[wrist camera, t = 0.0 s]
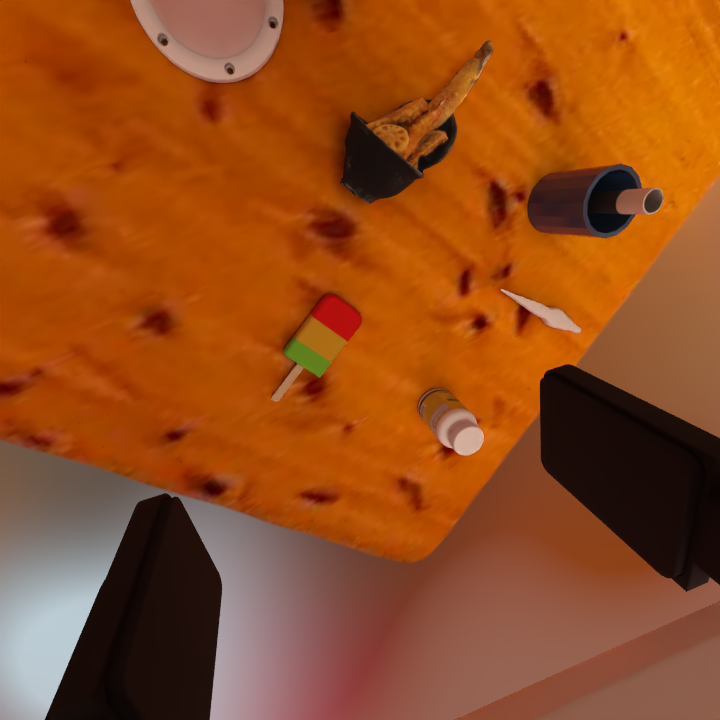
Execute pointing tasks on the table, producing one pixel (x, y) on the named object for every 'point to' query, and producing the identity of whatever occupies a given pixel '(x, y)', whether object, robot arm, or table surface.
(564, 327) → the pale pink tapered rod
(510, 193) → the table surface
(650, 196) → the marker pen
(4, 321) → the table surface
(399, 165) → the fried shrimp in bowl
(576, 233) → the pen cup
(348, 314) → the popsicle
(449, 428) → the supplement bottle
